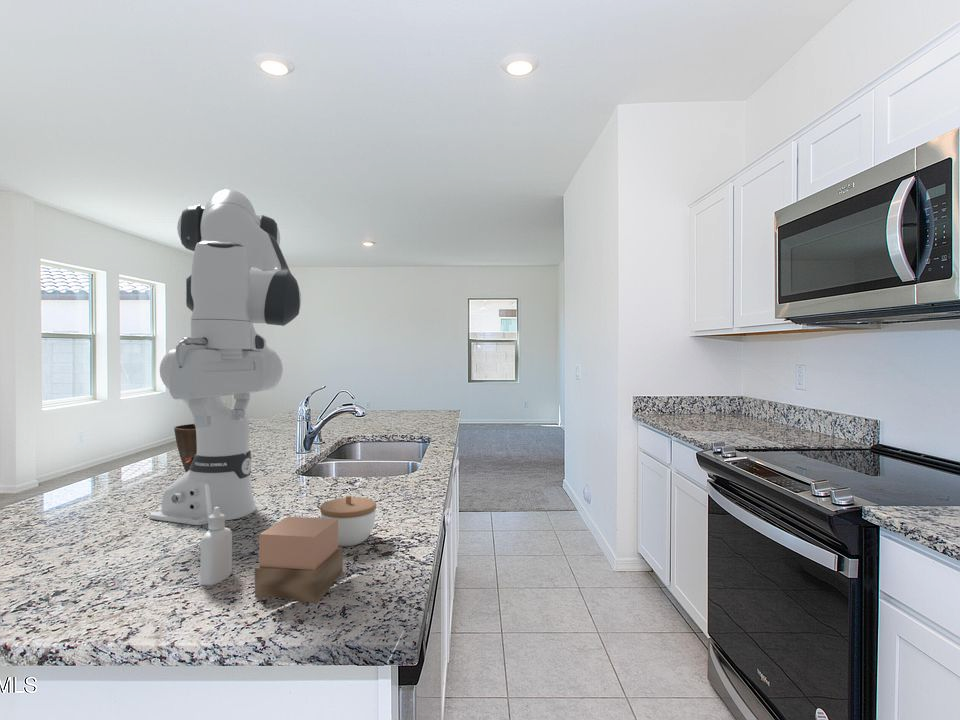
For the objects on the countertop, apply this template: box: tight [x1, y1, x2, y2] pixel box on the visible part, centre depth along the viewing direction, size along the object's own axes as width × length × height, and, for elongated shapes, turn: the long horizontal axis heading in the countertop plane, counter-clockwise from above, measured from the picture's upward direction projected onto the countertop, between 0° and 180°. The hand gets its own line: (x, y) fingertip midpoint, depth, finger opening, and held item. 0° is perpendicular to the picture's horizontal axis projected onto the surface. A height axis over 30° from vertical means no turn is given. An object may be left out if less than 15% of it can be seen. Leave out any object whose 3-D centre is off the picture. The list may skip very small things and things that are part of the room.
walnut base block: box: [254, 546, 344, 604], centre depth 86 cm, size 10×10×5 cm
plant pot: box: [173, 423, 197, 473], centre depth 158 cm, size 15×15×16 cm
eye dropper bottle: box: [199, 507, 233, 586], centre depth 88 cm, size 4×6×12 cm
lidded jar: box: [320, 495, 377, 547], centre depth 105 cm, size 11×11×9 cm
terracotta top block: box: [258, 516, 339, 570], centre depth 86 cm, size 9×9×5 cm
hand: (221, 423), depth 87 cm, fingers open, 8 cm apart
